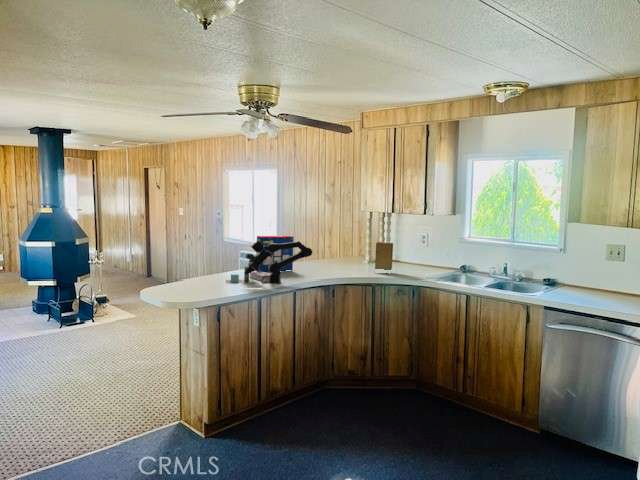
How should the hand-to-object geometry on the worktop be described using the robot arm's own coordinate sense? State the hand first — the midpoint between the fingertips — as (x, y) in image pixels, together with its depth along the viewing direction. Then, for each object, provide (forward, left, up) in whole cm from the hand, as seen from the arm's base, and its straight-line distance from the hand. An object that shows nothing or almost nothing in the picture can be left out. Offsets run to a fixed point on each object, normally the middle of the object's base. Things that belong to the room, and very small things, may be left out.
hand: (244, 273), depth 325 cm
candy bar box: (0, -20, -4) cm, 20 cm away
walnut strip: (+3, +1, -6) cm, 7 cm away
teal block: (+6, +3, -5) cm, 9 cm away
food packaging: (-82, -91, -7) cm, 123 cm away
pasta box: (0, -56, -7) cm, 57 cm away
